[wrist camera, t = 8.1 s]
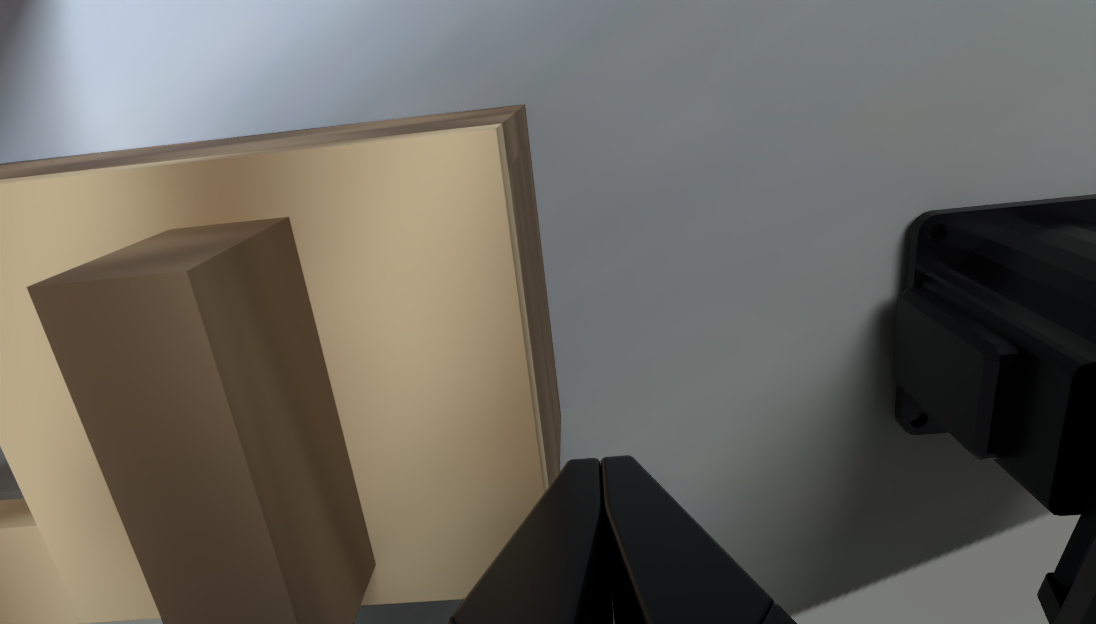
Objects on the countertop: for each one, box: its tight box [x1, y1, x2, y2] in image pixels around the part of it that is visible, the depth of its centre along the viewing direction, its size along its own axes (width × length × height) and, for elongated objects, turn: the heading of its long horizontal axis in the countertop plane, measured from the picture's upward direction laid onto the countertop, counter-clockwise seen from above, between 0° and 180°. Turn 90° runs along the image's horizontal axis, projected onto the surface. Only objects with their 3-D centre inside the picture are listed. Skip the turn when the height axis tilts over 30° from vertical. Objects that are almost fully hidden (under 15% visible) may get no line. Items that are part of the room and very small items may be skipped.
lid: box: [0, 124, 549, 624], centre depth 11 cm, size 16×9×4 cm, turn 96°
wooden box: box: [0, 105, 561, 500], centre depth 16 cm, size 16×9×6 cm, turn 96°
